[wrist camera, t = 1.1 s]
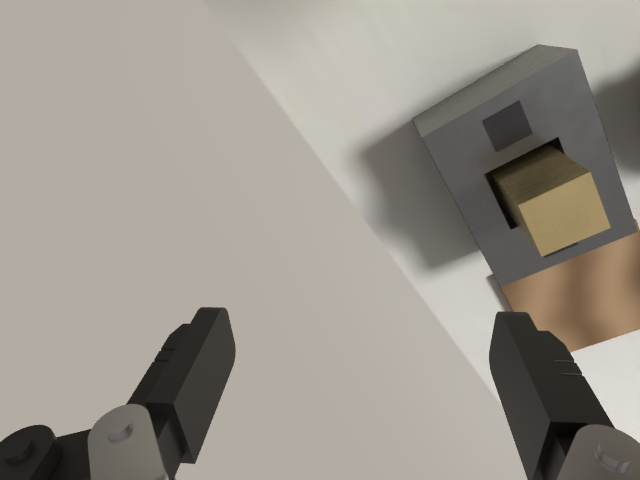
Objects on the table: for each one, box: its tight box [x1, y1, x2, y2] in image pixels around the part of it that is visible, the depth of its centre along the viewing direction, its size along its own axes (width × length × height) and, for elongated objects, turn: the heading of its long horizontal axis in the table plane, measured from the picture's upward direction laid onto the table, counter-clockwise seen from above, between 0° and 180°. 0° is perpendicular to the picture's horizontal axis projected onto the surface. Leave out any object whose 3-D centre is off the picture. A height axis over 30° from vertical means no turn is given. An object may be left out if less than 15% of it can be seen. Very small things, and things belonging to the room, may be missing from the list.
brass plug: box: [485, 143, 611, 257], centre depth 28 cm, size 4×4×10 cm
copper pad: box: [501, 219, 640, 352], centre depth 38 cm, size 12×12×1 cm
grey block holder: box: [412, 44, 638, 288], centre depth 30 cm, size 10×14×6 cm
